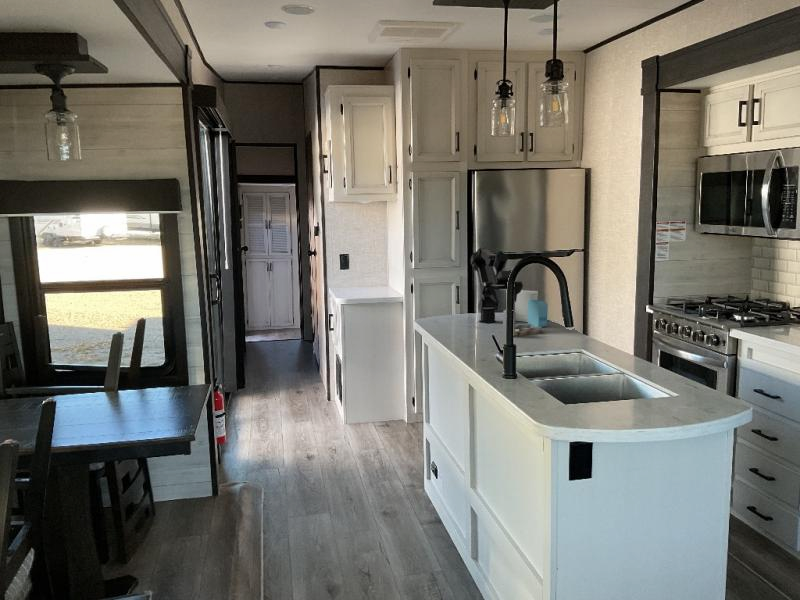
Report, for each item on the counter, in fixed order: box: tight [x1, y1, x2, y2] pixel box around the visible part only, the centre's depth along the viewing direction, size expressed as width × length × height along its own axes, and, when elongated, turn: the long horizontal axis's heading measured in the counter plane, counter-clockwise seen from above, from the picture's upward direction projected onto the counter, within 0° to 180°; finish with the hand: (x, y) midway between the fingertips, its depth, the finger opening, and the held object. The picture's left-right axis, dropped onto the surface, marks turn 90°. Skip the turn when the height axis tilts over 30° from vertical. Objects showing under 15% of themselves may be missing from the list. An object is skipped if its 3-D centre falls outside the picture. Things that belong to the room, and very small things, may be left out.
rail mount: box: [515, 323, 544, 336], centre depth 307 cm, size 13×10×3 cm
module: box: [502, 309, 516, 338], centre depth 299 cm, size 4×5×11 cm
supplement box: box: [514, 289, 539, 323], centre depth 337 cm, size 9×9×15 cm
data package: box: [527, 299, 548, 328], centre depth 324 cm, size 12×4×12 cm, turn 15°
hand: (506, 301), depth 305 cm, fingers open, 9 cm apart
